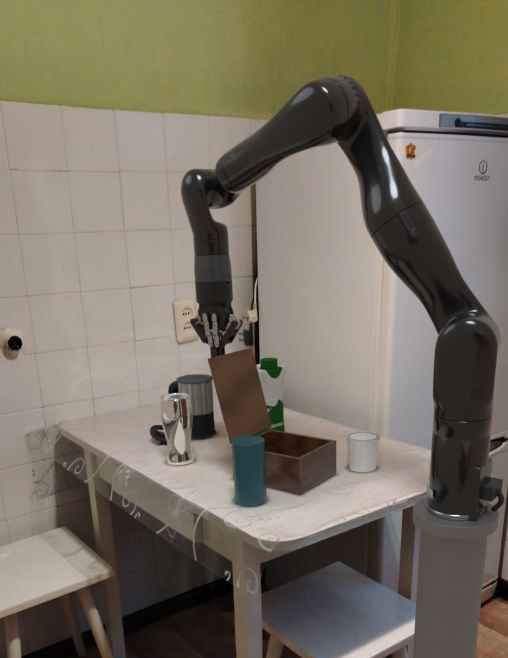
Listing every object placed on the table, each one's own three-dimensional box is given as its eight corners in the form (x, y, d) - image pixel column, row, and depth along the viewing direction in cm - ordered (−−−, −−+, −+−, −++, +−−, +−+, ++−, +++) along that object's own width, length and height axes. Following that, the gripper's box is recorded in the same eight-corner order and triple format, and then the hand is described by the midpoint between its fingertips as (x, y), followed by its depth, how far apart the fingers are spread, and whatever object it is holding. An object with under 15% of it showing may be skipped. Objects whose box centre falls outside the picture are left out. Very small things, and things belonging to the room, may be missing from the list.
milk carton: (264, 447, 152) (261, 363, 145) (239, 439, 159) (236, 358, 152) (290, 439, 157) (289, 357, 150) (266, 432, 164) (263, 353, 157)
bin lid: (251, 347, 137) (249, 348, 137) (210, 358, 127) (207, 358, 128) (271, 427, 140) (269, 427, 141) (232, 443, 130) (229, 443, 131)
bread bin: (336, 474, 133) (336, 440, 130) (300, 495, 123) (299, 459, 121) (271, 460, 143) (270, 429, 140) (233, 479, 133) (231, 445, 131)
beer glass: (188, 467, 142) (183, 400, 136) (160, 464, 144) (153, 399, 139) (200, 456, 148) (195, 393, 142) (172, 455, 150) (167, 392, 145)
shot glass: (339, 466, 137) (339, 435, 135) (365, 460, 140) (366, 429, 138) (359, 475, 132) (360, 443, 129) (385, 469, 134) (386, 437, 132)
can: (272, 498, 122) (270, 438, 118) (253, 509, 118) (251, 447, 114) (248, 492, 126) (245, 433, 122) (228, 502, 122) (225, 442, 117)
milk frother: (222, 431, 167) (219, 374, 162) (194, 449, 154) (189, 388, 148) (175, 427, 173) (170, 372, 167) (143, 444, 159) (137, 385, 154)
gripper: (176, 280, 130) (183, 365, 136) (226, 279, 122) (231, 370, 129) (201, 277, 136) (206, 359, 142) (250, 276, 128) (254, 363, 134)
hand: (218, 364), depth 135 cm, fingers closed
